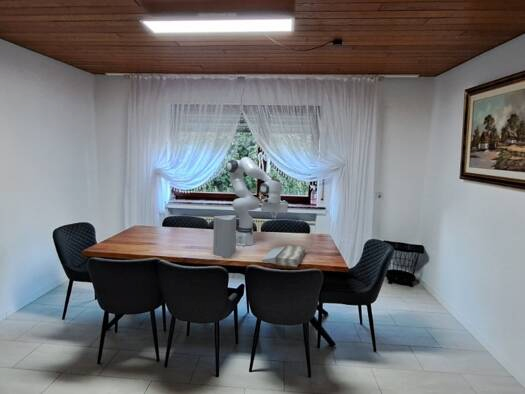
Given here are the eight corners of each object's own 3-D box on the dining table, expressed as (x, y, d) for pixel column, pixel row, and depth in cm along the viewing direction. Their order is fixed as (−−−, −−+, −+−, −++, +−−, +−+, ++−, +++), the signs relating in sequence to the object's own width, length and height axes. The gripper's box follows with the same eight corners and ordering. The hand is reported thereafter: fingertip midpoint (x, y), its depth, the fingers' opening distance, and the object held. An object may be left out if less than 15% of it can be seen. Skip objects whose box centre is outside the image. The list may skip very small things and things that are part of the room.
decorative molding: (263, 266, 256) (276, 264, 253) (261, 259, 256) (274, 257, 253) (275, 253, 288) (287, 251, 285) (274, 248, 288) (286, 245, 285)
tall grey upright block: (217, 250, 284) (217, 214, 281) (235, 251, 282) (236, 215, 278) (209, 256, 265) (210, 218, 262) (229, 258, 263) (230, 220, 260)
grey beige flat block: (276, 264, 251) (276, 257, 250) (286, 251, 285) (286, 245, 285) (297, 266, 247) (297, 259, 247) (304, 253, 282) (305, 246, 281)
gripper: (288, 200, 278) (288, 218, 279) (262, 198, 283) (262, 216, 284) (287, 201, 272) (286, 219, 273) (260, 199, 277) (260, 217, 278)
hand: (274, 218), depth 279 cm, fingers closed
